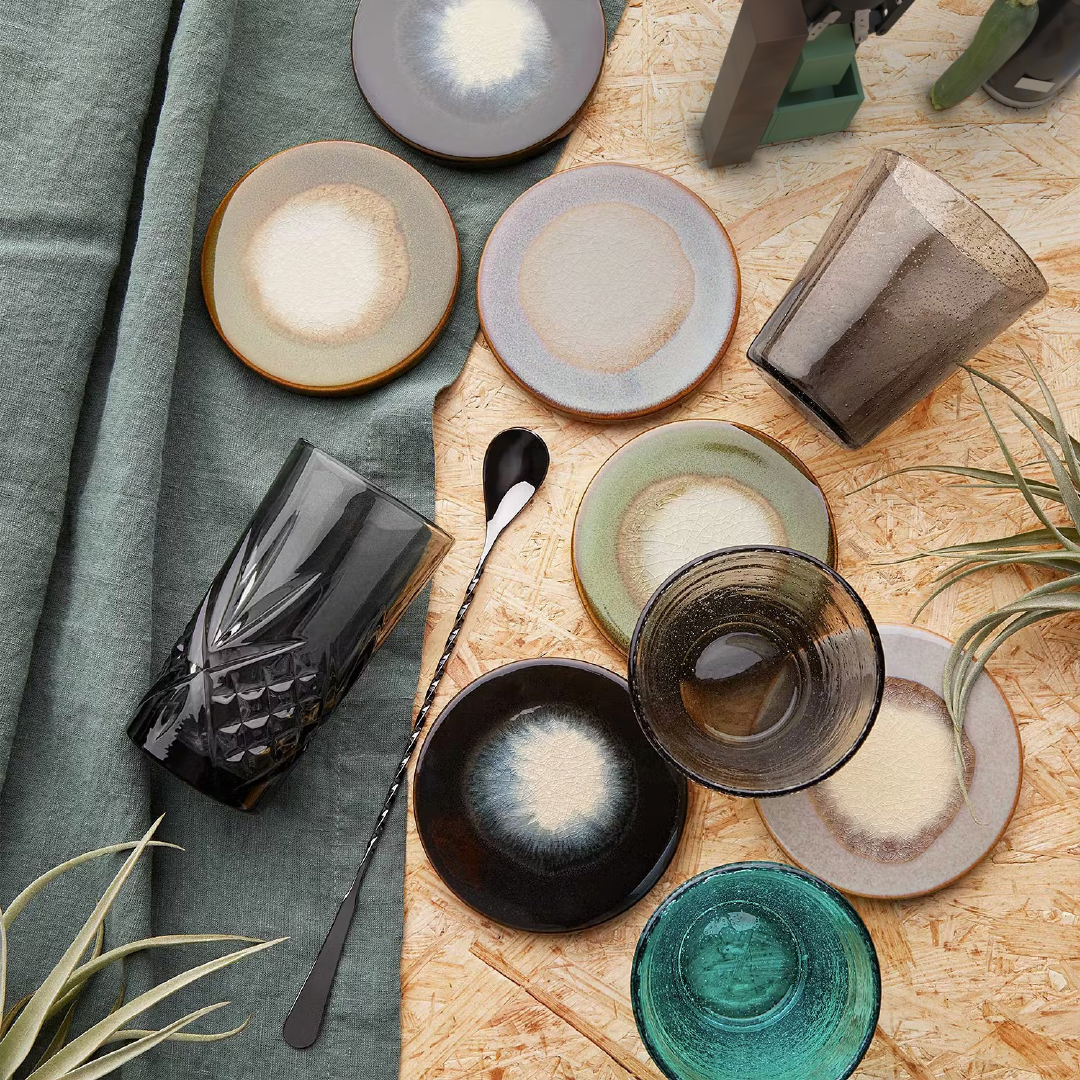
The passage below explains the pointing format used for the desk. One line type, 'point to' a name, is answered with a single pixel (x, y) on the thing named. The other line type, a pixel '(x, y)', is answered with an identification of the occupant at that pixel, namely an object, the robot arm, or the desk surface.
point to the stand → (752, 78)
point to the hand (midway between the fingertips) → (810, 62)
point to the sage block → (823, 59)
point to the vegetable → (986, 50)
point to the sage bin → (816, 109)
